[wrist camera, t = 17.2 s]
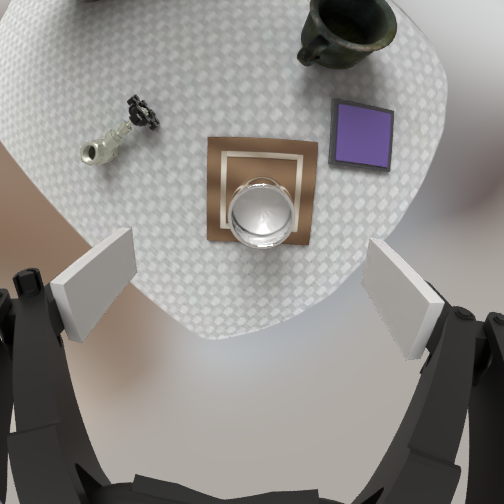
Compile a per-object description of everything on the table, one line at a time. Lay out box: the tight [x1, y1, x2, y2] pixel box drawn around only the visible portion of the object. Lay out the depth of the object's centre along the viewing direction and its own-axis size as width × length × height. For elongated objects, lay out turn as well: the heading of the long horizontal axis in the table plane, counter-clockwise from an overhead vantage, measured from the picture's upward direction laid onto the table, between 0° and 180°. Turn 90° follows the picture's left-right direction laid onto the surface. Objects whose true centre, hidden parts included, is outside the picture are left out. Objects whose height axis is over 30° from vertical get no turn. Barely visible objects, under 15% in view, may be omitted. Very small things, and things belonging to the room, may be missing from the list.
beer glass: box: [228, 171, 295, 249], centre depth 34 cm, size 7×7×15 cm
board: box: [207, 137, 318, 245], centre depth 41 cm, size 16×16×1 cm
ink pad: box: [328, 99, 394, 172], centre depth 37 cm, size 10×10×2 cm
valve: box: [81, 95, 160, 166], centre depth 36 cm, size 7×7×12 cm
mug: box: [297, 0, 397, 69], centre depth 27 cm, size 11×15×12 cm
